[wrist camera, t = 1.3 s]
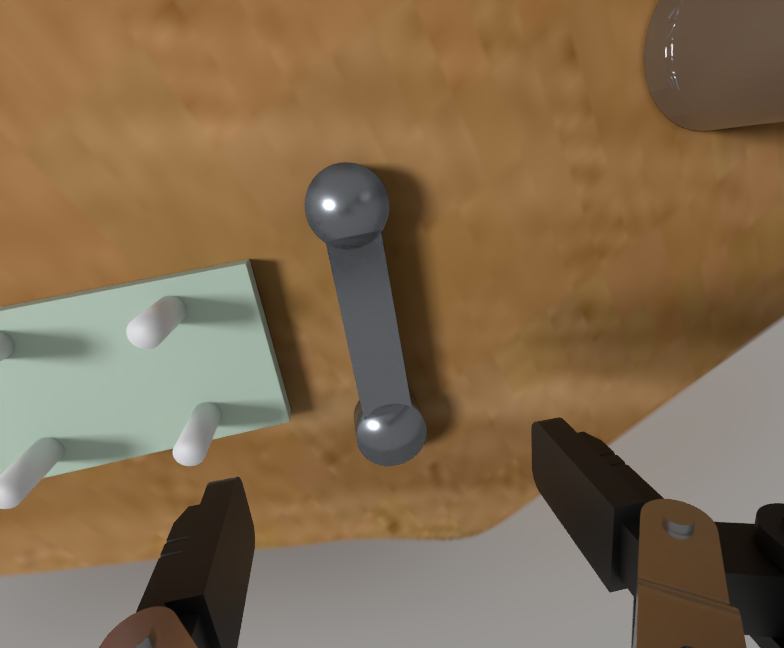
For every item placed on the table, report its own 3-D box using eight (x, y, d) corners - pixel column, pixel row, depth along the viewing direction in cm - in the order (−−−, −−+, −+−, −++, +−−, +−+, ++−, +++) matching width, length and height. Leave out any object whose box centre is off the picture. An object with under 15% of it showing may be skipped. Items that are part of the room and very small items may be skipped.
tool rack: (249, 258, 26) (232, 278, 21) (290, 410, 29) (285, 459, 24) (-87, 323, 24) (-197, 362, 19) (-4, 476, 28) (-78, 545, 22)
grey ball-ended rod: (297, 171, 25) (296, 170, 23) (375, 157, 26) (381, 155, 23) (360, 449, 31) (364, 473, 29) (422, 435, 31) (431, 456, 29)
